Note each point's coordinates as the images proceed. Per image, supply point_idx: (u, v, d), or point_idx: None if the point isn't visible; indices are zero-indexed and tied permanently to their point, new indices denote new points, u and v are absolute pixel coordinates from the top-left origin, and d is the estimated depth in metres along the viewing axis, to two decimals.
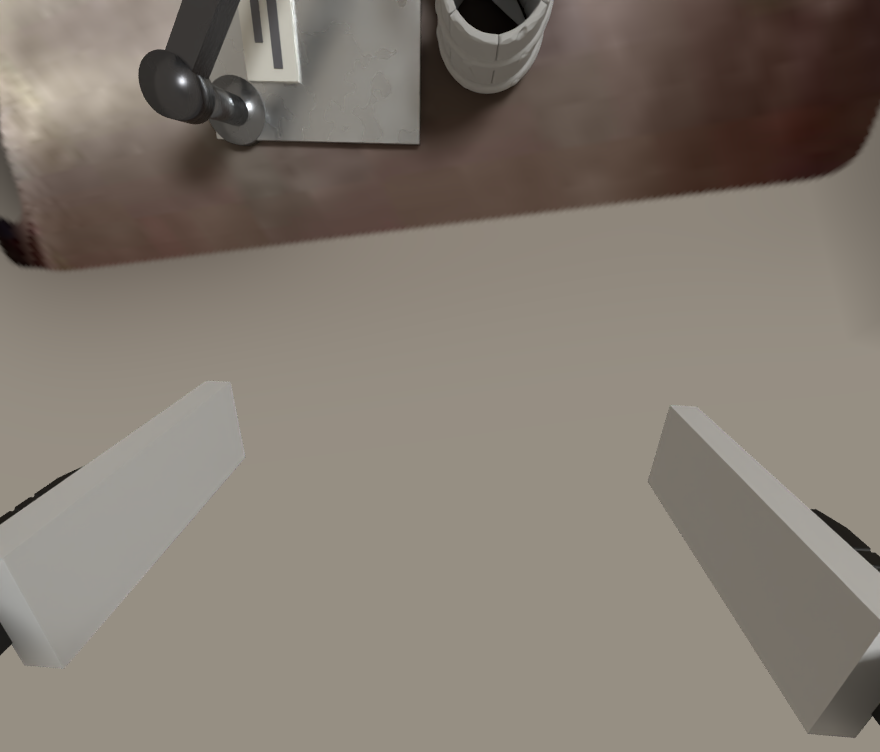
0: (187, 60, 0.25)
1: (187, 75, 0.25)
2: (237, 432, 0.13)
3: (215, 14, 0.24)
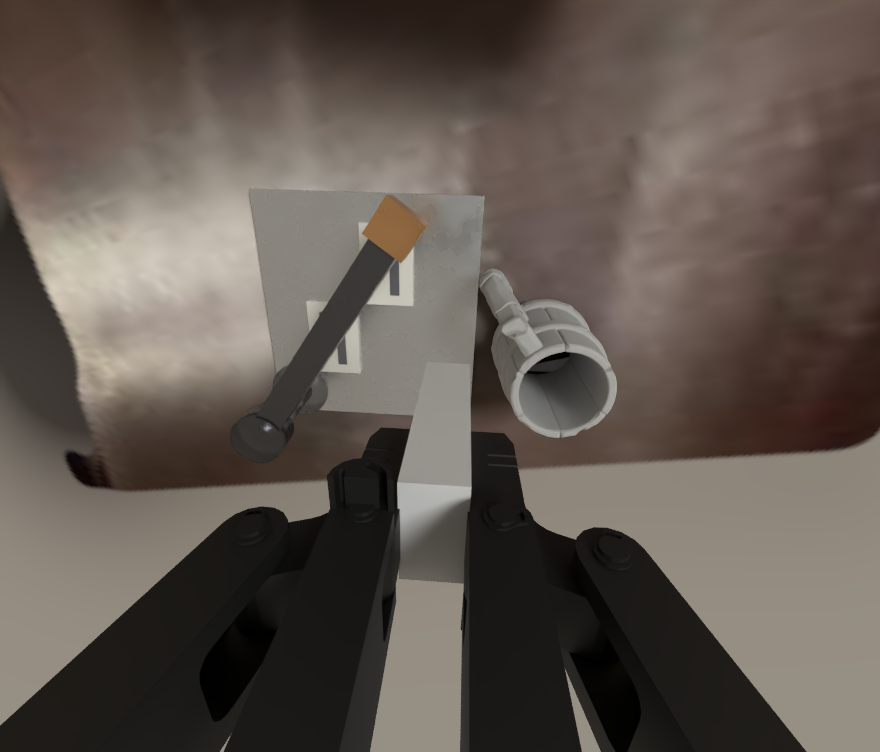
0: (275, 425, 0.28)
1: (274, 436, 0.28)
2: None
3: (303, 394, 0.27)
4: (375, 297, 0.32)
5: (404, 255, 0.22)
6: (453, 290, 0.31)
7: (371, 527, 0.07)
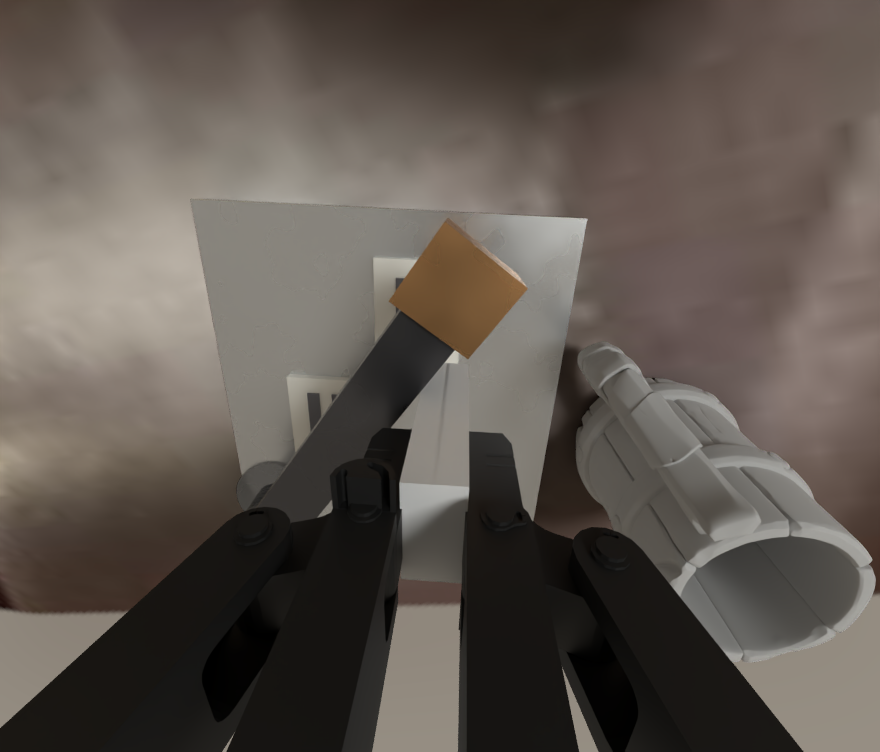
0: None
1: None
2: None
3: None
4: None
5: (476, 344, 0.11)
6: (521, 363, 0.20)
7: (374, 527, 0.07)
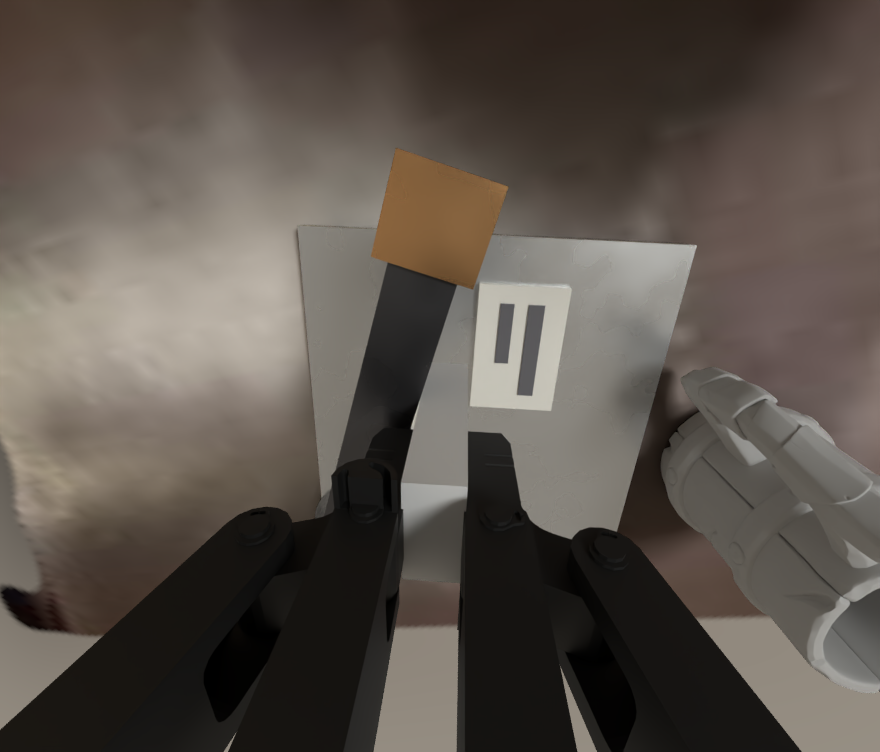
0: None
1: None
2: None
3: None
4: (492, 397, 0.20)
5: (476, 270, 0.10)
6: (617, 387, 0.20)
7: (375, 527, 0.07)
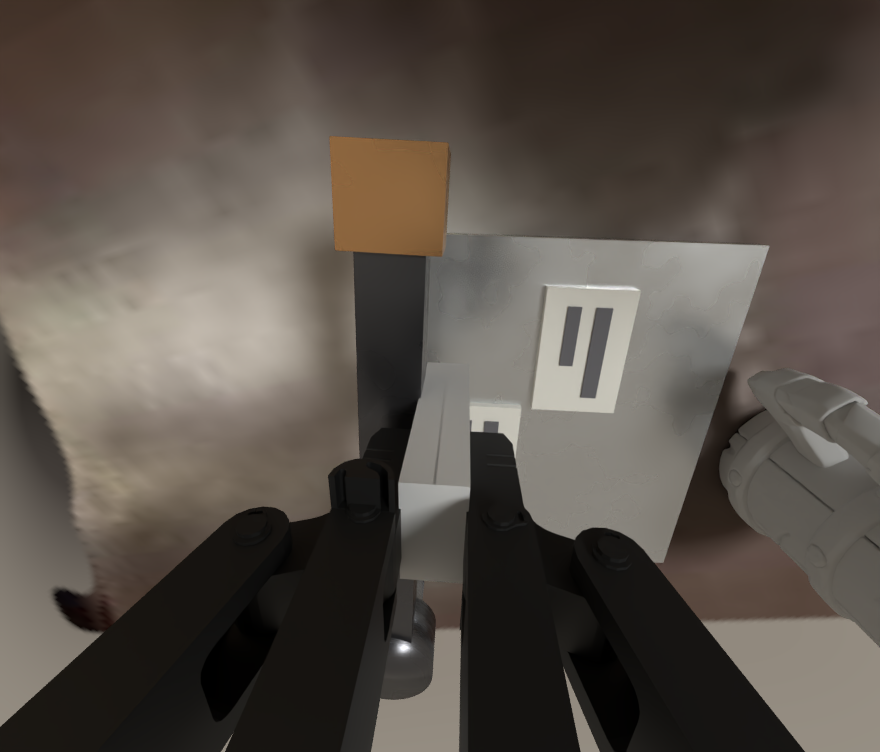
0: (400, 637, 0.15)
1: (409, 654, 0.16)
2: None
3: None
4: (554, 400, 0.20)
5: (440, 236, 0.10)
6: (680, 388, 0.20)
7: (372, 527, 0.07)
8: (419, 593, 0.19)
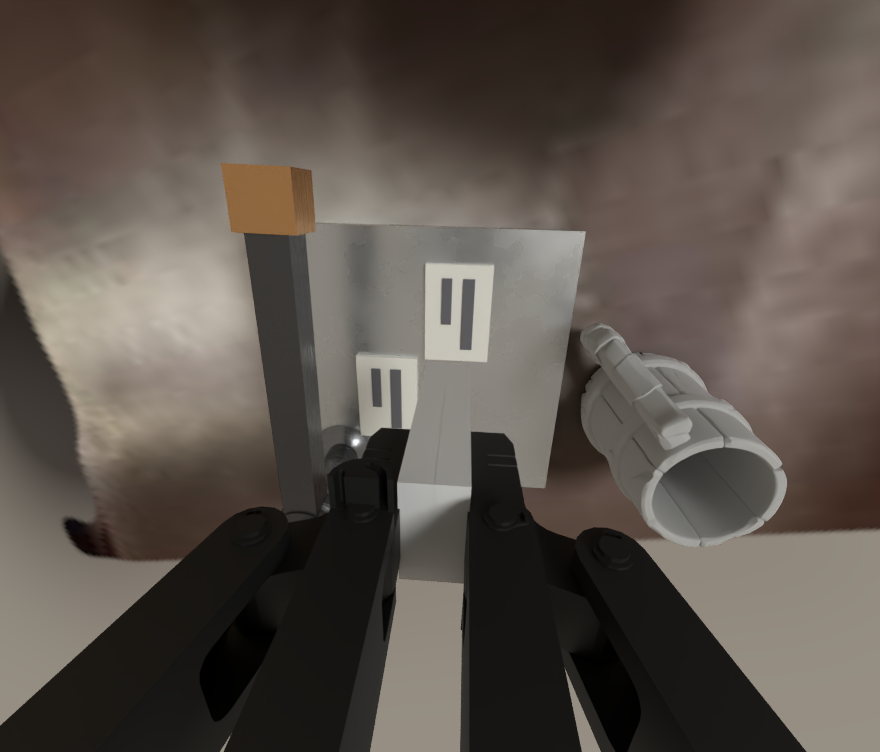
0: (308, 512, 0.22)
1: None
2: None
3: (312, 462, 0.21)
4: (441, 351, 0.26)
5: (293, 222, 0.16)
6: (537, 342, 0.26)
7: (371, 527, 0.07)
8: None
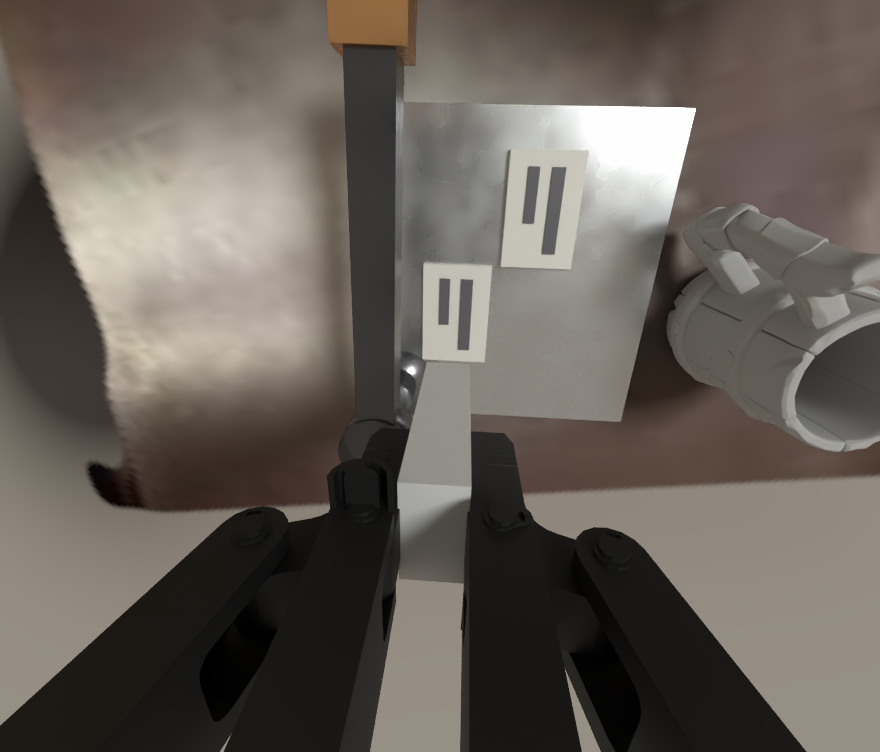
0: (385, 419, 0.19)
1: None
2: None
3: (394, 356, 0.18)
4: (520, 257, 0.23)
5: (405, 27, 0.13)
6: (627, 247, 0.23)
7: (371, 527, 0.07)
8: None
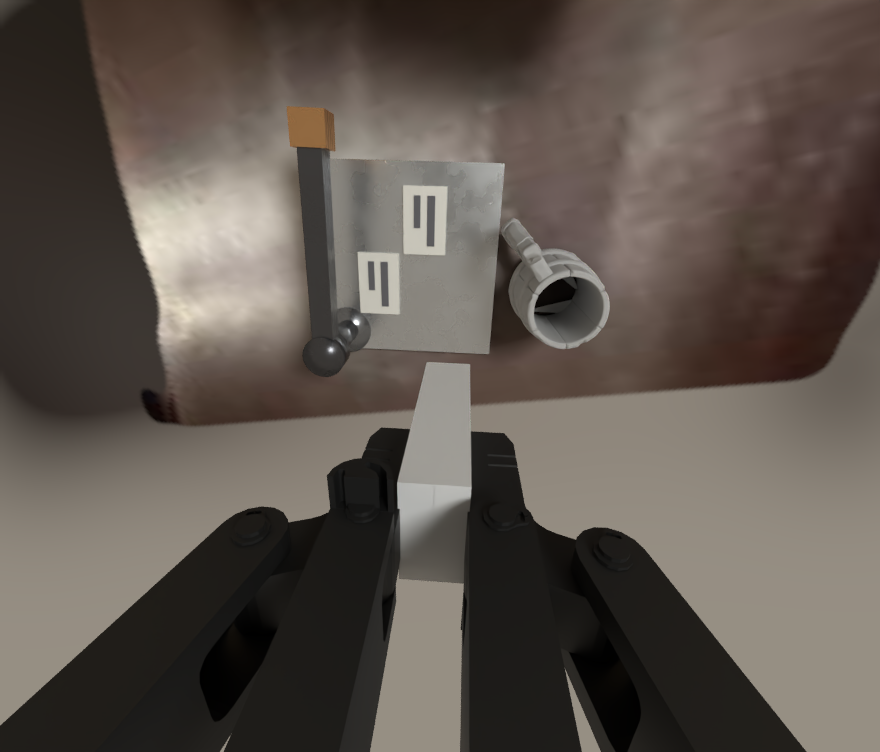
0: (327, 336, 0.35)
1: (332, 345, 0.35)
2: None
3: (330, 300, 0.34)
4: (414, 248, 0.39)
5: (324, 140, 0.29)
6: (478, 241, 0.39)
7: (371, 527, 0.07)
8: None
